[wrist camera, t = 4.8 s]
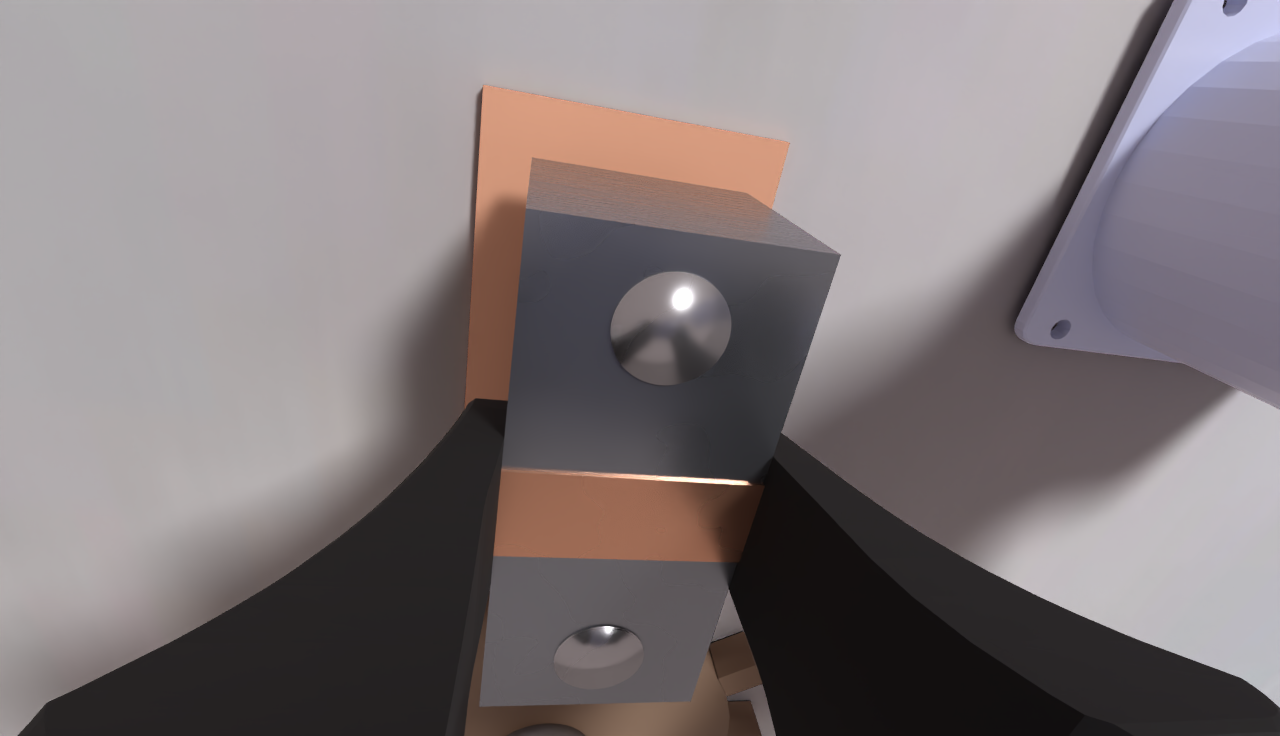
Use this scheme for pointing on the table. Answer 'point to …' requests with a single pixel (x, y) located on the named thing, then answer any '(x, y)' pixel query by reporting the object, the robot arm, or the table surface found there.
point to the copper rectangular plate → (585, 139)
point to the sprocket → (634, 704)
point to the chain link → (638, 427)
